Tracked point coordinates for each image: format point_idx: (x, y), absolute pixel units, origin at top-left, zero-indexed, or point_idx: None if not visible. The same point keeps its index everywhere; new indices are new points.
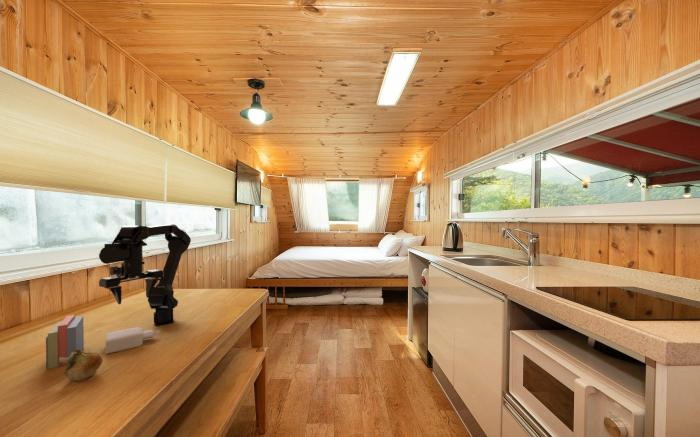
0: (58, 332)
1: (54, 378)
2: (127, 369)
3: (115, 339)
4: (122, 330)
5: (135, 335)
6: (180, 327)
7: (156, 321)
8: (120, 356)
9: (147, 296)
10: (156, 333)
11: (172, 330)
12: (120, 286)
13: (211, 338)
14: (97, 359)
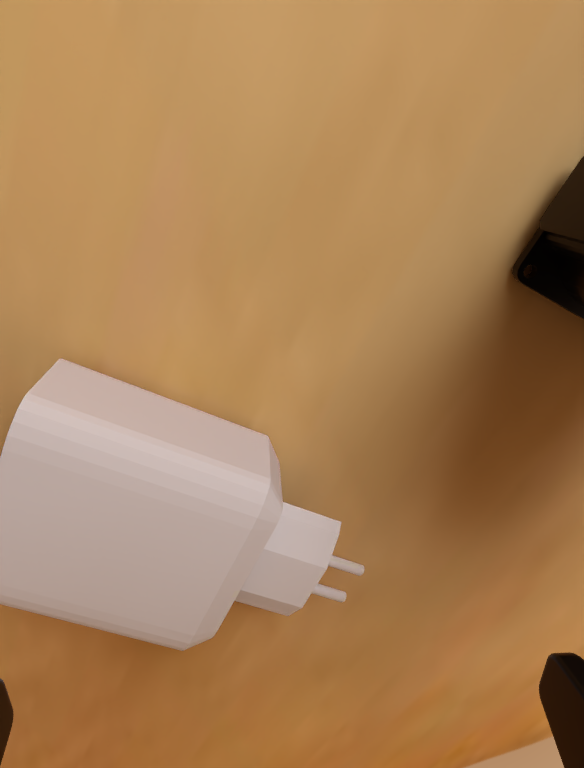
0: None
1: None
2: (43, 758)
3: (29, 610)
4: (128, 486)
5: (159, 643)
6: (540, 496)
7: (559, 247)
8: None
9: (551, 709)
10: (319, 594)
11: (473, 501)
12: None
13: (449, 764)
14: None
